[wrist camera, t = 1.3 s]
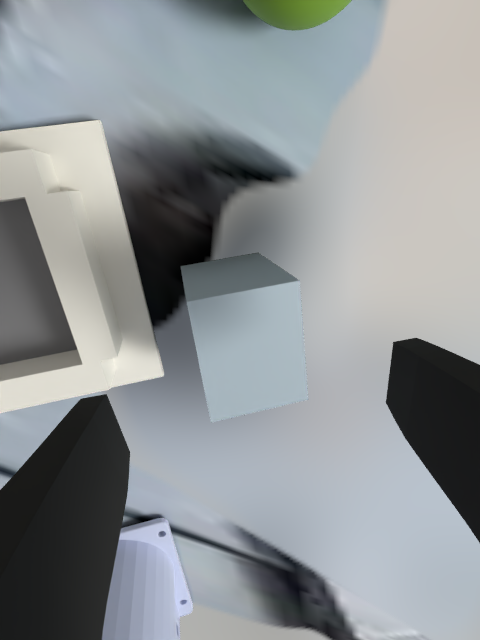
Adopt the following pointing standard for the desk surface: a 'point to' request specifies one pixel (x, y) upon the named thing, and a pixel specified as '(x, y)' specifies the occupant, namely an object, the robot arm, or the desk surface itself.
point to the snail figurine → (295, 12)
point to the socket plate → (67, 271)
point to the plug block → (246, 334)
